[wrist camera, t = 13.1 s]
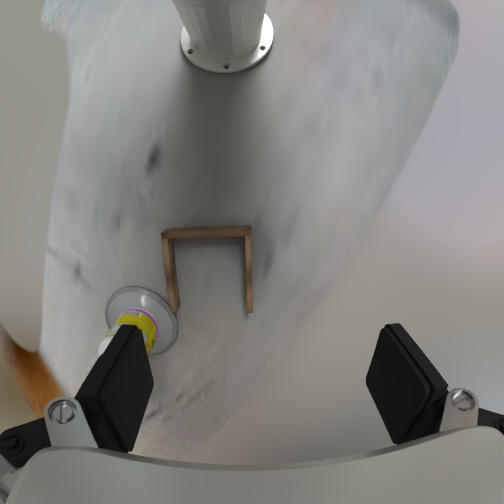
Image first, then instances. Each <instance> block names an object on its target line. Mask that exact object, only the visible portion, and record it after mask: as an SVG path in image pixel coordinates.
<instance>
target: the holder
mask: <svg viewBox="0 0 504 504" xmlns="http://www.w3.org/2000/svg"><path fill="white" fill-rule="evenodd" d="M161 236H162V246H163V255H164V264H165V273H166V281H167V288H168V295H169V302H170V309H171V313H177V311H178V308H179V306H180V301H179V294H178V285H177V277H176V268H175V258H174V248H173V238H204V237H242V236H245V257H246V294H247V313H253V296H252V242H251V226H231V227H198V228H171V229H165V230H164V231H163V232H162V233H161Z"/></svg>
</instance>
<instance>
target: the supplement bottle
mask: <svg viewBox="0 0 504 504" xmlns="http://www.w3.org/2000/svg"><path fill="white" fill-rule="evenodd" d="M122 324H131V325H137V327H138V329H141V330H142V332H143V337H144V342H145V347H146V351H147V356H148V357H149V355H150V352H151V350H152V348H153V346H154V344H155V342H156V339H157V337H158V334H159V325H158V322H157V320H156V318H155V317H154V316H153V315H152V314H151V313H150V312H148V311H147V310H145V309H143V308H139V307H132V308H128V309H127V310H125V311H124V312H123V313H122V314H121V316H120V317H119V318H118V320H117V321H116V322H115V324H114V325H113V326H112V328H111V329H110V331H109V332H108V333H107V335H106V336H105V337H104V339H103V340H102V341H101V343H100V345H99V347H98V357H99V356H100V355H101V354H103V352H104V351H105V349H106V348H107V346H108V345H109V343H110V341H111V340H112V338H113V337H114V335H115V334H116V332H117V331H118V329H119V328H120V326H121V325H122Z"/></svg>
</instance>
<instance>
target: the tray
mask: <svg viewBox="0 0 504 504" xmlns="http://www.w3.org/2000/svg"><path fill="white" fill-rule="evenodd" d="M132 307H139V308H143V309H145V310H147V311H148V312H150V313H151V314H152V315H153V316H154V317H155V318H156V320H157V322H158V325H159V334H158V337H157V339H156V342H155V344H154V346H153V348H152V350H151V352H150V355H156V354H160V353H162V352H164V351H166V350H168V349H169V348H170V347H171V346H172V345H173V343H174V341H175V339H176V336H177V333H178V323H177V318H176V316H175V313H171V309H170V305H169V304H168V303H167V302H166V301H165V300H164V299H163V298H162V297H161V296H159V295H158V294H157V293H155V292H153V291H151V290H149V289H146V288H142V287H136V286H132V287H125V288H122V289H120V290H118V291H117V292H116V293H114V294H113V295H112V297H111V298H110V299H109V301H108V303H107V306H106V313H105V314H106V321H107V324H108V327H109V329H111V328H112V326H113V325H114V324H115V322H116V321H117V320H118V318H119V317H120V316H121V314H122V313H123V312H124V311H125V310H127V309H128V308H132Z"/></svg>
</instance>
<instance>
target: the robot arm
mask: <svg viewBox="0 0 504 504" xmlns="http://www.w3.org/2000/svg"><path fill="white" fill-rule="evenodd" d="M172 1H173V3H174V5H175V7H176V9H177V11H178V13H179V15H180V17H181V19H182V22H183V24H184V25H183V28H182V30H181V35H180V43H181V47H182V50H183V52H184V54H185V55H186V57H187V58H188V59H189V60H190V61H191V62H192V63H193V64H194V65H195V66H197V67H199V68H201V69H203V70H206V71H209V72H214V73H234V72H239V71H242V70H245V69H248V68H250V67H252V66H254V65H255V64H257V63H258V62H260V61H261V60H262V59H263V58H264V57H265V56H266V55H267V53H268V52H269V50H270V48H271V45H272V42H273V37H274V30H273V26H272V23H271V21H270V19H269V18H268V16H267V15H266V14H265V9H266V1H267V0H172ZM261 49H264V51H262V50H261ZM190 53H192V54H190ZM225 67H229V68H228V69H225ZM153 384H154V382H153V376H152V372H151V368H150V364H149V360H148V356H147V351H146V347H145V342H144V337H143V332H142V330H141V329H138V327H137V325H131V324H122V325H121V326H120V328H119V329H118V331H117V332H116V334H115V335H114V337H113V338H112V340H111V341H110V343H109V345H108V346H107V348H106V349H105V351H104V352H103V354H101V355H100V356H99V358H98V360H97V361H96V363H95V364H94V366H93V368H92V369H91V371H90V372H89V374H88V376H87V377H86V379H85V381H84V382H83V384H82V386H81V387H80V389H79V391H78V393H77V394H76V396H75V398H71V397H67V396H62V397H57V398H55V399H53V400H51V401H50V402H49V403H48V404H47V405H46V407H45V410H44V417H43V418H40V419H37V420H35V421H32V422H29V423H26V424H23V425H19V426H16V427H13V428H10V429H8V430H5V431H4V432H3V433H2V434H1V435H0V504H504V415H501V414H498V413H494V412H491V411H488V410H485V409H481V408H478V406H479V403H478V399H477V397H476V396H475V395H474V393H472V392H471V391H469V390H467V389H465V388H454V389H452V390H451V391H450V392H449V391H448V390H447V387H448V384H447V383H446V381H445V380H444V379H443V378H442V376H441V375H440V373H439V372H438V371H437V369H436V368H435V367H434V366H433V364H432V363H431V362H430V360H429V359H428V358H427V356H426V355H425V354H424V353H423V351H422V350H421V349H420V348H419V346H418V345H417V344H416V343H415V342H414V340H413V339H412V338H411V336H410V335H409V334H408V333H407V332H406V330H405V329H404V328H403V327H402V326H401V325H400V324H399V323H397V324H396V323H395V324H387V325H385V327H384V328H382V329H381V331H380V334H379V338H378V341H377V345H376V348H375V351H374V355H373V358H372V361H371V364H370V367H369V370H368V373H367V376H366V385H367V387H368V389H369V392H370V394H371V396H372V398H373V400H374V402H375V404H376V406H377V409H378V411H379V413H380V415H381V417H382V419H383V422H384V424H385V426H386V428H387V430H388V432H389V435H390V437H391V439H392V441H393V443H394V444H397V445H395V446H391V447H387V448H383V449H379V450H375V451H370V452H365V453H361V454H356V455H350V456H345V457H338V458H332V459H326V460H317V461H309V462H299V463H286V464H268V465H221V464H204V463H192V462H182V461H173V460H166V459H158V458H151V457H145V456H139V455H134V454H129V453H128V451H130V452H131V451H132V450H133V448H134V444H135V441H136V438H137V435H138V432H139V428H140V425H141V422H142V419H143V416H144V413H145V410H146V407H147V404H148V401H149V398H150V395H151V392H152V389H153Z"/></svg>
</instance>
